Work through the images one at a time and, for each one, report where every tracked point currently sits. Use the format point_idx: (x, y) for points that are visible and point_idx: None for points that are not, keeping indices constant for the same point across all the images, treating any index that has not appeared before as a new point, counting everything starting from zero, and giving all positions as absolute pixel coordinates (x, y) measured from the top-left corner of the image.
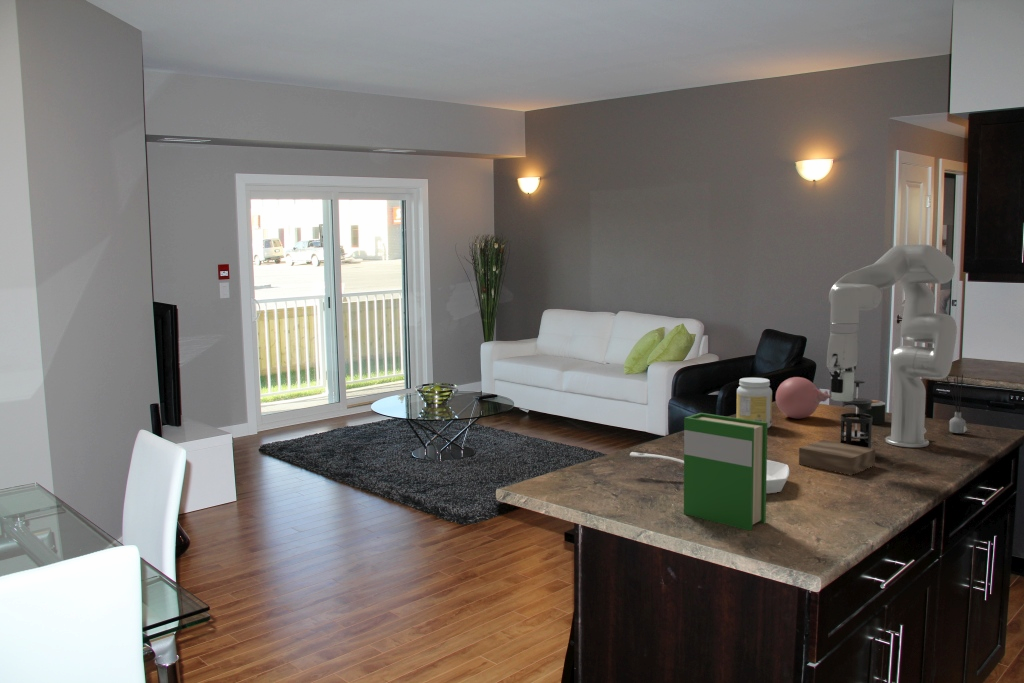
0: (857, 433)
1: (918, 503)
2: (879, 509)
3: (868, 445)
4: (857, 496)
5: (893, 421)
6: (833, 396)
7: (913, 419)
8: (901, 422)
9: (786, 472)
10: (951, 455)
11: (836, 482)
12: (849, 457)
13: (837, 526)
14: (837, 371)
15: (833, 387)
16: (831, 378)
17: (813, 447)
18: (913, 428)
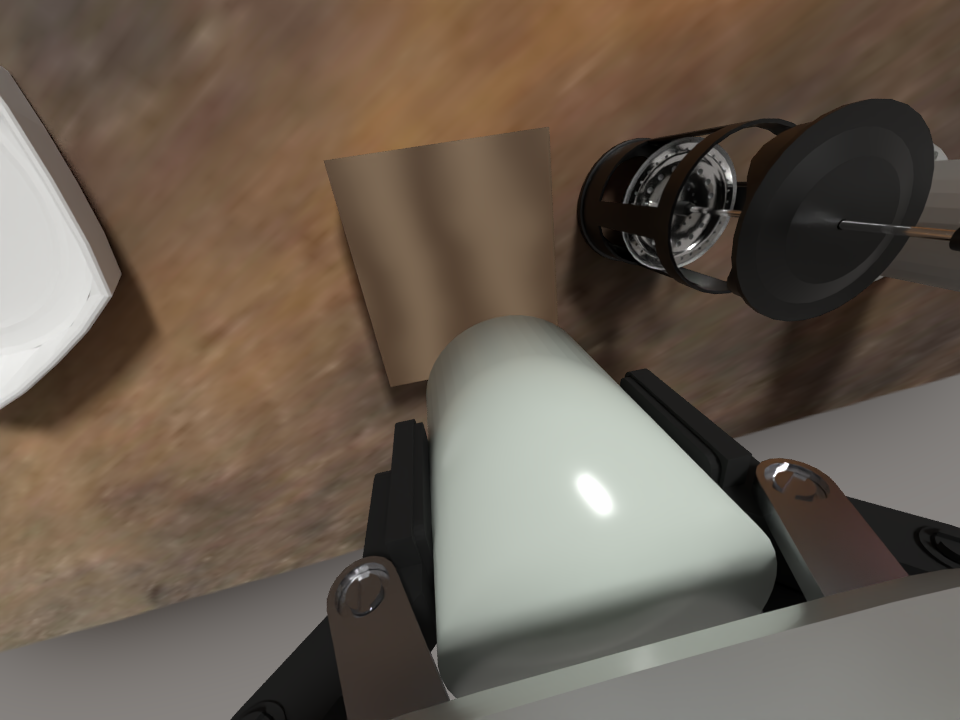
0: (705, 195)
1: (346, 549)
2: (230, 546)
3: (643, 265)
4: (254, 478)
5: (949, 193)
6: (430, 392)
7: (943, 279)
8: (925, 238)
9: (61, 344)
10: (779, 371)
11: (296, 381)
12: (390, 378)
13: (43, 580)
14: (611, 573)
15: (377, 490)
16: (354, 567)
17: (391, 198)
18: (899, 272)
